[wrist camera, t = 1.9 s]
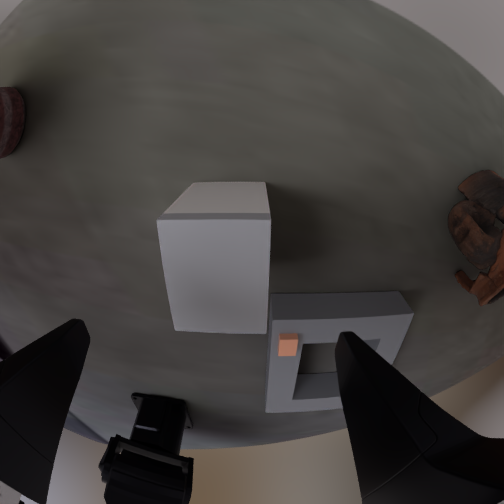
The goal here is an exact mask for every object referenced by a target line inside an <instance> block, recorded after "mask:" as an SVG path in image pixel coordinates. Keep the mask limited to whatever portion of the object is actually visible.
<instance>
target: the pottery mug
mask: <svg viewBox="0 0 504 504" xmlns="http://www.w3.org/2000/svg"><path fill="white" fill-rule="evenodd" d="M458 189H459V191H460V192H461V193H463V194H464V195H465V197H466V198H467V199H468V200H465V201H461V202H459V203H457V204H456V205H455V206H454V207H453V208H452V210H451V212H450V213H449V216H448V227H449V231H450V234H451V236H452V238H453V240H454V241H455V243H456V245H457V246H458V248H459V249H460V251H461V252H462V253H463V254H464V255H465V256H466V257H467V259H468V261H469V262H470V263H472V264H473V265H475V266H476V267H477V268H478V269H481V270H483V269H486V268H488V267H489V266H491V267H490V269H489V272H488V273H484V272H480V273H479V275H478V277H477V279H476V280H473V281H472V280H471V279H470V278H469V277H468V276H467V275H466V274H465V273H464V272H463V271H459V272H457V273H456V274H455V277H456V278H457V281H458V283H460V284H461V286H462V287H463V288H465V289H466V290H467V291H468V292H469V293H472V294H475V295H476V296H477V298H478V301H479V305H480V306H483V305H486V304H491V303H493V302H495V301H496V300H498V299H499V298H501V297H503V296H504V229H502V231H501V232H500V230H499V229H498V228H497V227H495V226H494V222H495V218H497V219H498V220H500V221H501V222H502V223H503V224H504V179H503V178H501V177H500V176H498V175H497V174H496V173H495V172H494V171H490V170H485V171H483V170H482V171H480V172H477V173H474V174H473V175H471V176H470V177H468V178H467V179H466V180H465V181H463V182H462V183H461V184H460V185H459V187H458Z"/></svg>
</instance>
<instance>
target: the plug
mask: <svg viewBox="0 0 504 504" xmlns="http://www.w3.org/2000/svg"><path fill="white" fill-rule="evenodd" d="M157 227H158V235H159V242H160V249H161V256H162V263H163V269H164V275H165V281H166V287H167V292H168V298H169V303H170V308H171V313H172V318H173V323H174V328H175V330H176V331H191V332H209V333H237V334H266V331H267V310H268V288H269V264H270V237H271V216H270V209H269V203H268V196H267V190H266V184H265V182H194V183H193V184H192V185H191V186H190V187H189V188H188V189H187V190H186V191H185V192H184V193H183V194H182V195H181V196H180V197H179V198H178V199H177V200H176V201H175V202H174V203H173V204H172V205H171V206H170V207H169V208H168V209H167V210H166V211H165V212H164V213H163V214H162V215H161V216H160V217H159V218H158V219H157Z"/></svg>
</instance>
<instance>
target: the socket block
mask: <svg viewBox="0 0 504 504" xmlns="http://www.w3.org/2000/svg"><path fill="white" fill-rule="evenodd" d="M413 315H414V312H413V311H412V309H411V308H410V306H409V305H408V303H407V302H406V301H405V299H404V298H403V296H402V295H401V293H400V292H399V291H385V292H357V293H292V294H281V293H271V299H270V318H269V335H268V351H267V367H266V382H265V412H266V413H280V412H303V411H317V410H329V409H338V408H343V406H342V402H341V398H340V392H339V385H338V376H337V372H331V373H317V374H297V373H298V368H299V362H300V357H301V351H302V346H303V344H309V343H331V342H337V341H338V337H339V334H340V333H341V332H344V331H352V332H354V333H355V334H356V335H358V336H359V337H360V338H361V339H362V340H363V341H364V342H366V343H367V344H368V345H369V346H370V347H371V348H372V349H374V350H375V351H376V352H377V353H378V354H379V355H380V356H382V357H383V358H384V359H385V360H386V361H387V362H388V363H390V364H391V365H392V363H393V361H394V359H395V357H396V355H397V353H398V351H399V349H400V346H401V344H402V342H403V340H404V337H405V335H406V333H407V330H408V328H409V325H410V323H411V320H412V318H413Z"/></svg>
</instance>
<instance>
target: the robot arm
mask: <svg viewBox="0 0 504 504" xmlns="http://www.w3.org/2000/svg"><path fill="white" fill-rule="evenodd" d="M89 344H90V335H89V333H88V330H87V328H86V326H85V323H84V321H83V320H81V319H71V320H69V321H68V322H66V323H64V324H63V325H61V326H59V327H57V328H56V329H54V330H52V331H51V332H49V333H47V334H46V335H44V336H42V337H41V338H39V339H37V340H36V341H34V342H32V343H31V344H29V345H27V346H26V347H24V348H22V349H21V350H19V351H17V352H16V353H14V354H13V355H11V356H9V357H8V358H6V360H3V361H1V362H0V504H24V502H23V501H21V500H20V497H21V494H22V495H24V496H26V497H27V498H29V499H31V500H33V501H35V502H37V503H39V504H46V501H47V495H48V490H49V484H50V479H51V474H52V470H53V464H54V460H55V456H56V452H57V448H58V445H59V440H60V437H61V434H62V430H63V427H64V424H65V420H66V417H67V414H68V411H69V408H70V405H71V402H72V399H73V396H74V393H75V390H76V387H77V384H78V382H79V379H80V376H81V373H82V369H83V365H84V362H85V358H86V355H87V351H88V348H89ZM335 361H336V368H337V376H338V385H339V392H340V398H341V402H342V406H343V411H344V415H345V419H346V424H347V428H348V432H349V437H350V442H351V446H352V451H353V456H354V461H355V466H356V470H357V476H358V481H359V487H360V492H361V497H362V504H504V438H488V437H484V436H481V435H479V434H477V433H476V432H474V431H473V430H471V429H470V428H468V427H467V426H465V425H464V424H463V423H461V422H460V421H458V420H456V419H455V418H454V417H453V416H451V415H450V414H448V413H447V412H446V411H444V410H443V409H442V408H440V407H439V406H438V405H437V404H436V403H434V402H433V401H432V400H431V399H430V398H428V397H427V396H426V395H425V394H424V393H423V392H421V391H420V390H419V389H418V388H417V387H416V386H415V385H414V384H412V383H411V382H410V381H409V380H408V379H407V378H406V377H404V376H403V375H402V374H401V373H400V372H399V371H398V370H396V369H395V368H394V367H393V366H392V365H391V364H390V363H388V362H387V361H386V360H385V359H384V358H383V357H382V356H380V355H379V354H378V353H377V352H376V351H375V350H374V349H372V348H371V347H370V346H369V345H368V344H367V343H366V342H364V341H363V340H362V339H361V338H360V337H359V336H358V335H356V334H355V333H354V332H352V331H344V332H341V333H340V334H339V337H338V341H337V344H336V348H335ZM131 398H132V400H133V402H134V404H135V406H136V407H137V409H138V413H137V417H136V420H135V423H134V426H133V429H132V433H131V436H130V439H126V438H123V437H121V436H120V435H118V434H116V436H115V437H111V438H110V441H109V444H108V447H107V449H106V451H105V453H104V455H103V457H102V459H101V461H100V463H99V469H100V471H101V472H102V473H101V476H102V482H104V483H106V488H105V493H104V498H105V501H106V504H189V501H190V498H191V492H192V481H193V460H194V459H193V458H190V457H188V458H187V457H183V456H180V455H179V453H180V448H181V442H182V437H183V431H184V428H185V429H192V428H193V424H192V421H191V418H190V415H189V412H188V410H187V407H186V403H185V402H184V401H182V400H175V399H167V398H160V397H153V396H147V395H141V394H136V393H132V395H131ZM120 452H121V454H120Z"/></svg>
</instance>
